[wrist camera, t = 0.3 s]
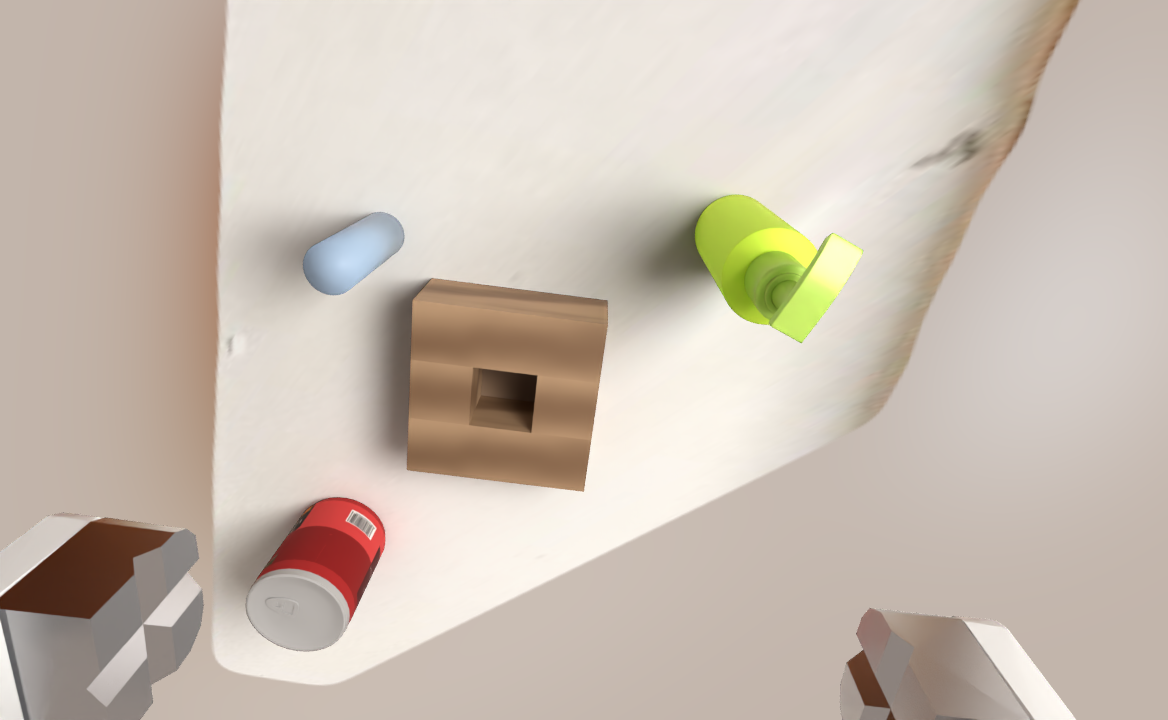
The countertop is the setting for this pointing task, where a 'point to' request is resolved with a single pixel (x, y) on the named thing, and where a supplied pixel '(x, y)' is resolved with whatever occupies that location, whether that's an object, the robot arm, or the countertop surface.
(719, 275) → the soap dispenser
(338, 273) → the dowel
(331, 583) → the canned food
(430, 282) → the socket block
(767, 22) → the countertop surface
